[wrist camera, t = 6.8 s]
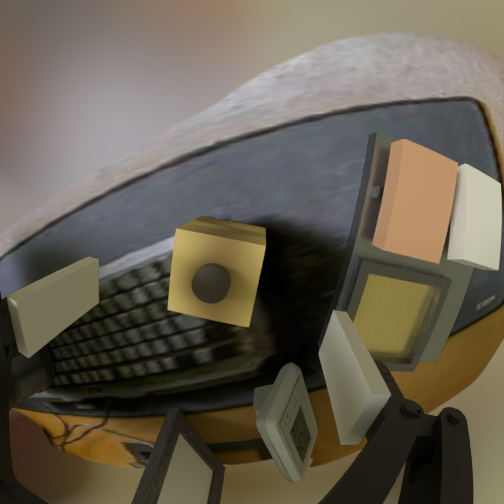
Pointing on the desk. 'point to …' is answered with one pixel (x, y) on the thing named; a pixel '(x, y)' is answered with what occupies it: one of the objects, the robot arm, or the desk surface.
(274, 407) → the digital clock
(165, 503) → the picture frame
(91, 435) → the desk surface
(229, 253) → the tan wooden block
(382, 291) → the panel
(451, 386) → the desk surface
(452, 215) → the rocker plain
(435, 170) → the orange tan rectangular block
